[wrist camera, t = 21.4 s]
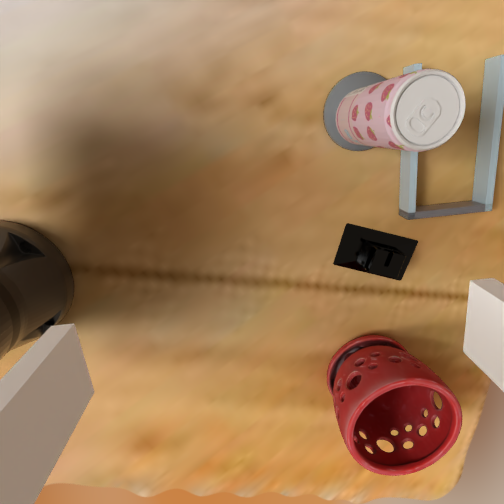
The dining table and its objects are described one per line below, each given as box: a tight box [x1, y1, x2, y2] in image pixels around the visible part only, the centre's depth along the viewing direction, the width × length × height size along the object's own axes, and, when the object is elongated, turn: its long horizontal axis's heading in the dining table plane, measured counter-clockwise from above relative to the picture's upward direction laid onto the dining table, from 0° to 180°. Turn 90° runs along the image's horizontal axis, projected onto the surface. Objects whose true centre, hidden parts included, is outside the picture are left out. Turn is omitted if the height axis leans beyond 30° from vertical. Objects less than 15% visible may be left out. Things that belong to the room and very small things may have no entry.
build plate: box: [333, 223, 418, 280], centre depth 44 cm, size 12×7×5 cm, turn 75°
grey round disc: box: [323, 72, 386, 151], centre depth 40 cm, size 8×8×1 cm
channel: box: [399, 55, 504, 220], centre depth 40 cm, size 10×16×2 cm, turn 6°
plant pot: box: [327, 335, 462, 476], centre depth 45 cm, size 13×13×12 cm
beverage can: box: [335, 69, 465, 152], centre depth 33 cm, size 6×6×15 cm
